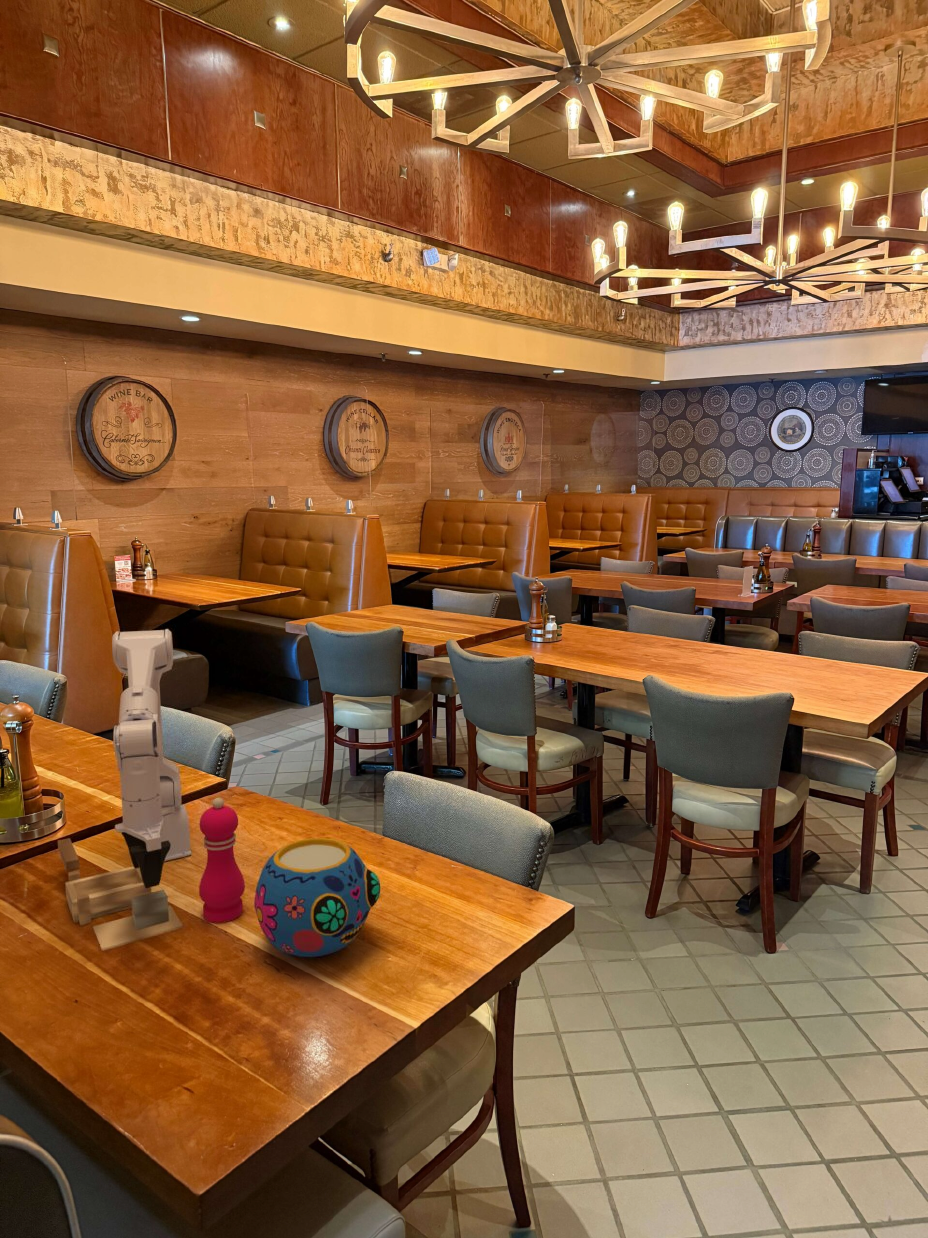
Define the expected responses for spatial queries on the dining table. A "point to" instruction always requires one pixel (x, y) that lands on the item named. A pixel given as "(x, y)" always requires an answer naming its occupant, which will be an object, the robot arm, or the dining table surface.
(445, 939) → the dining table surface
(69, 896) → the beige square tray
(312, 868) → the ceramic pot
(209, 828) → the pepper mill
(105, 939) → the lid
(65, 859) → the rectangular bar
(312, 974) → the dining table surface
